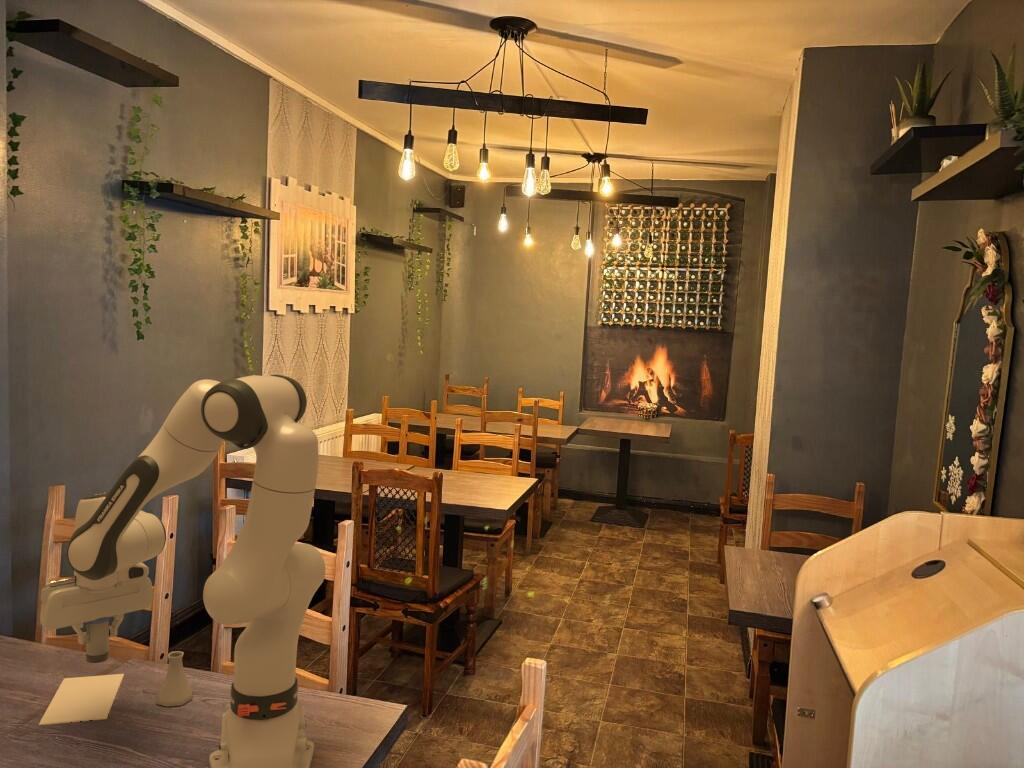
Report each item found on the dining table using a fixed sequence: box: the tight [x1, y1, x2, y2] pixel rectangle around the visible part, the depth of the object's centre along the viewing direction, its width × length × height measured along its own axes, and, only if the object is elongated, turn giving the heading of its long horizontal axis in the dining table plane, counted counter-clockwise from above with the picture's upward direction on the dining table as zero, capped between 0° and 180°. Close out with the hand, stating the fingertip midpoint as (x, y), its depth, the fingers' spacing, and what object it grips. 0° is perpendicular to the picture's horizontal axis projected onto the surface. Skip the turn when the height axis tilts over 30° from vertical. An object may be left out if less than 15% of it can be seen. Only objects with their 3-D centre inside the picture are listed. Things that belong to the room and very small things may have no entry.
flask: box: [156, 650, 194, 707], centre depth 164 cm, size 7×7×10 cm
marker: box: [85, 617, 110, 664], centre depth 156 cm, size 4×4×9 cm
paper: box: [38, 673, 125, 726], centre depth 163 cm, size 20×12×1 cm, turn 18°
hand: (97, 639), depth 155 cm, fingers closed on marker, 4 cm apart
